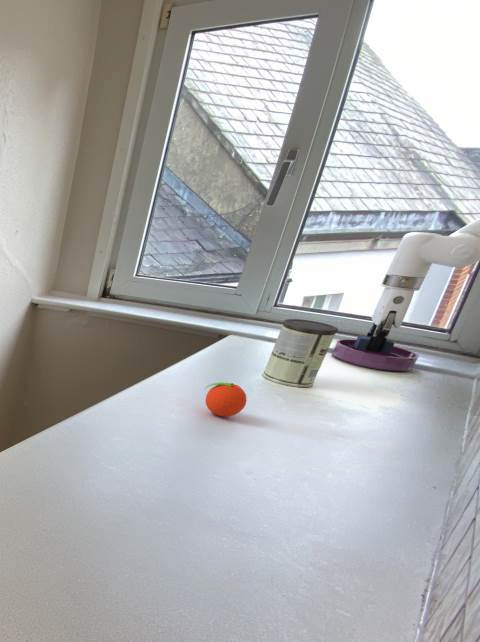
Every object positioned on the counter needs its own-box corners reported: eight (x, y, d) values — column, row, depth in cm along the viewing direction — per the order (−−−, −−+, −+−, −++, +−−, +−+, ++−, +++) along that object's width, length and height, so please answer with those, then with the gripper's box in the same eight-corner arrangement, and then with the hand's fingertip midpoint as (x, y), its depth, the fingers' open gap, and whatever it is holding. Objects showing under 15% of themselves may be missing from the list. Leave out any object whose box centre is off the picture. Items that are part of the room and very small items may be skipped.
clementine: (196, 416, 113) (208, 384, 110) (193, 404, 118) (204, 374, 115) (241, 425, 110) (255, 392, 107) (236, 412, 115) (249, 381, 112)
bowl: (404, 361, 155) (411, 347, 153) (417, 377, 142) (425, 363, 140) (327, 348, 163) (333, 335, 162) (333, 362, 151) (340, 348, 149)
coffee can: (265, 369, 142) (287, 316, 136) (314, 380, 136) (340, 325, 130) (258, 378, 136) (281, 323, 129) (309, 391, 129) (336, 333, 123)
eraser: (386, 350, 151) (391, 339, 150) (389, 354, 148) (394, 343, 147) (353, 345, 155) (358, 334, 154) (355, 348, 152) (360, 338, 150)
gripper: (429, 289, 135) (394, 359, 143) (414, 279, 148) (383, 345, 156) (388, 285, 139) (357, 353, 147) (378, 276, 152) (349, 340, 160)
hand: (371, 348), depth 152 cm, fingers closed on eraser, 4 cm apart
